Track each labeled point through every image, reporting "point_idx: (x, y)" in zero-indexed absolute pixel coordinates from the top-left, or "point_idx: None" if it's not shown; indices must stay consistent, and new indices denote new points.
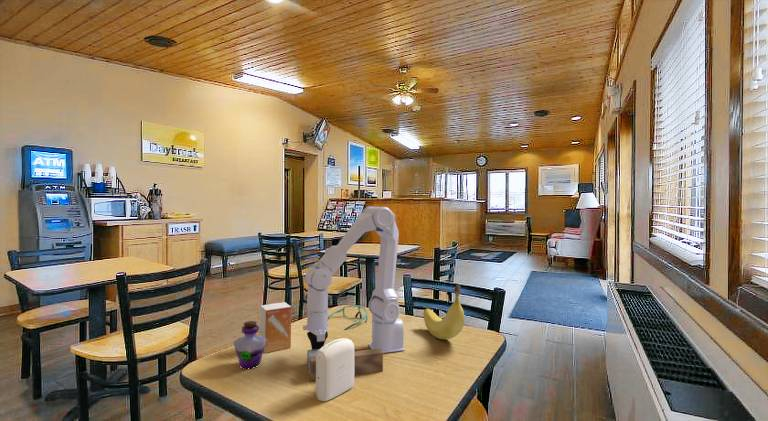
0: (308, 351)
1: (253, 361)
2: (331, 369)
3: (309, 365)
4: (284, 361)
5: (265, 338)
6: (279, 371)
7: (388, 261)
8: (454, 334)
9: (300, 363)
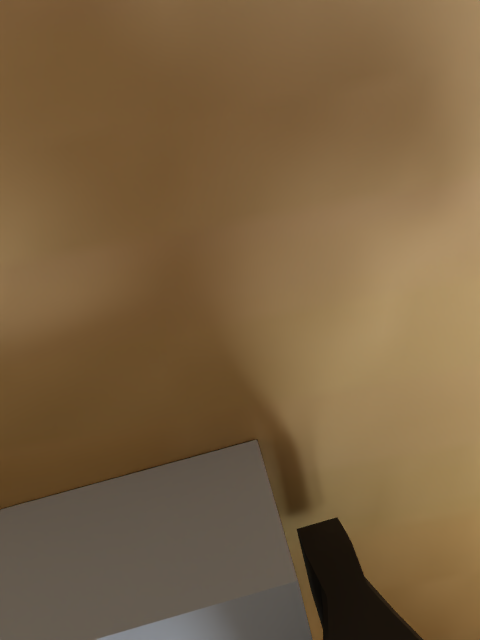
0: (231, 607)
1: None
2: None
3: (46, 547)
4: (371, 146)
5: None
6: (53, 131)
7: None
8: None
9: (288, 360)
